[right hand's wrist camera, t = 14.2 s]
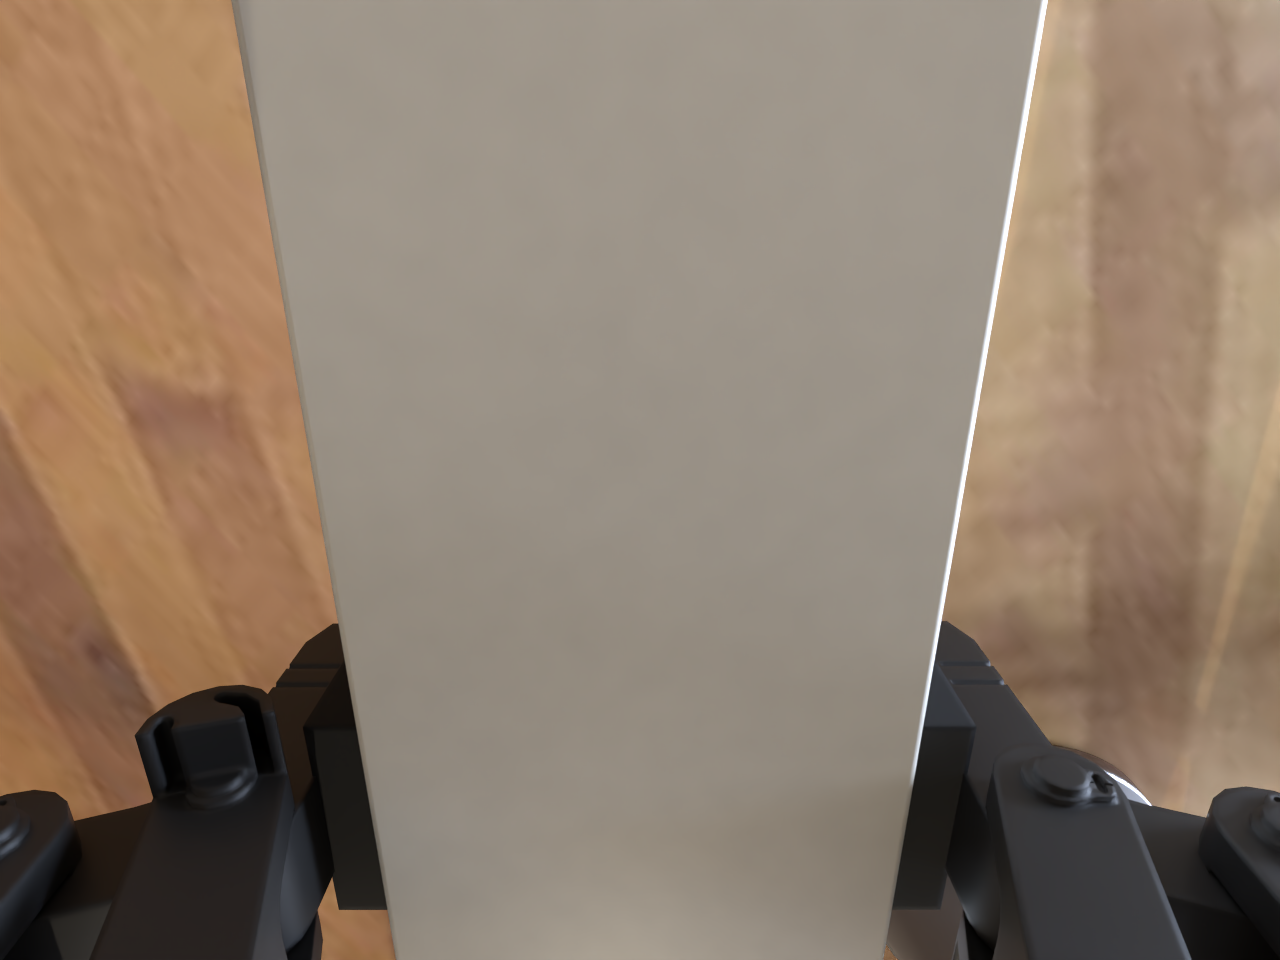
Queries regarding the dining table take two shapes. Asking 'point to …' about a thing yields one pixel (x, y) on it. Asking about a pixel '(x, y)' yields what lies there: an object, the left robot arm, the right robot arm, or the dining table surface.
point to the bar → (639, 439)
